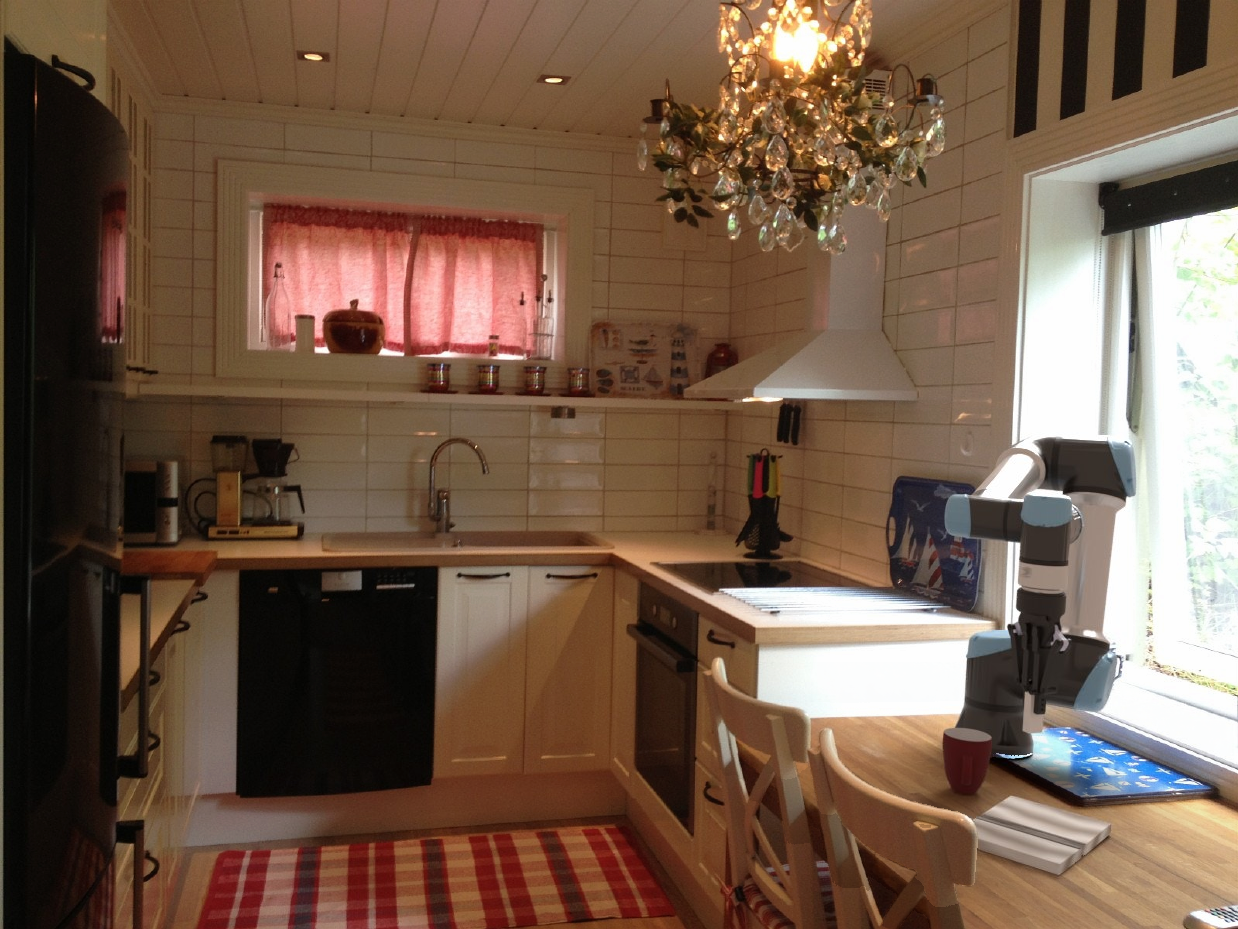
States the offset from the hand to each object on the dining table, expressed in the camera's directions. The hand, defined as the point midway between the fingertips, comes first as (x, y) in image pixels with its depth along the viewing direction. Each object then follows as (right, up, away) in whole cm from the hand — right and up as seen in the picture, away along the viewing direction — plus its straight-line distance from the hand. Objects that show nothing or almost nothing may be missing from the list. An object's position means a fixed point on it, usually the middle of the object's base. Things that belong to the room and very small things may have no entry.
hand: (1032, 731), depth 177 cm
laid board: (-8, -14, -14) cm, 22 cm away
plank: (0, -14, -6) cm, 15 cm away
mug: (-8, -13, +9) cm, 18 cm away
